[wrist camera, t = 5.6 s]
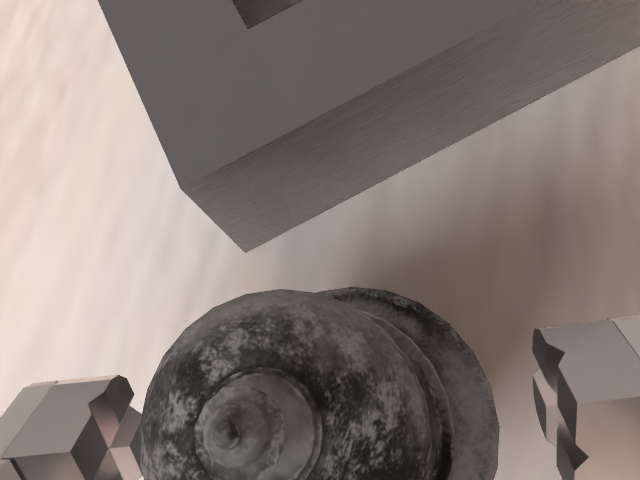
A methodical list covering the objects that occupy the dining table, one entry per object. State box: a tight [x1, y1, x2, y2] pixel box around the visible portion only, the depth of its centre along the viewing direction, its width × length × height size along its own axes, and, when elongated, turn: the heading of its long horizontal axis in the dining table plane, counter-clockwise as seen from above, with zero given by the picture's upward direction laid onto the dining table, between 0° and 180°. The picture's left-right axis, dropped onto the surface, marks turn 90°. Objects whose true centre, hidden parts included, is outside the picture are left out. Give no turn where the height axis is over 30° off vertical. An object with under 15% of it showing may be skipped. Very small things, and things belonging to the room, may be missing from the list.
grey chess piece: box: [139, 287, 499, 480], centre depth 9 cm, size 6×6×12 cm
